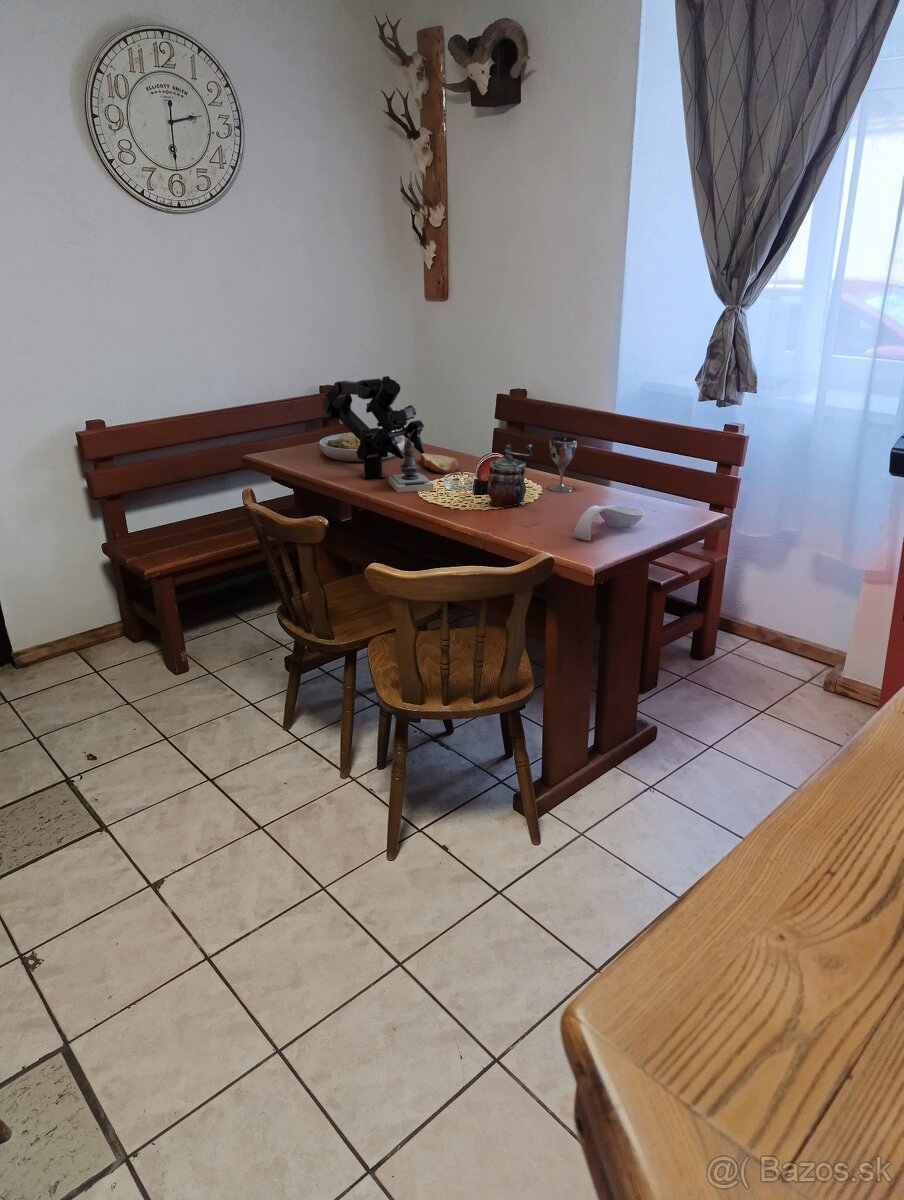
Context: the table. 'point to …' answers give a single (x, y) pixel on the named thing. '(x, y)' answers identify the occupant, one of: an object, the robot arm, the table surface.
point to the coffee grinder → (507, 479)
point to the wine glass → (562, 457)
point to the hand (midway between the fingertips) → (413, 455)
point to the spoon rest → (607, 518)
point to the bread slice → (439, 463)
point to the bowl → (348, 447)
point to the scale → (410, 483)
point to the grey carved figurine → (409, 463)
